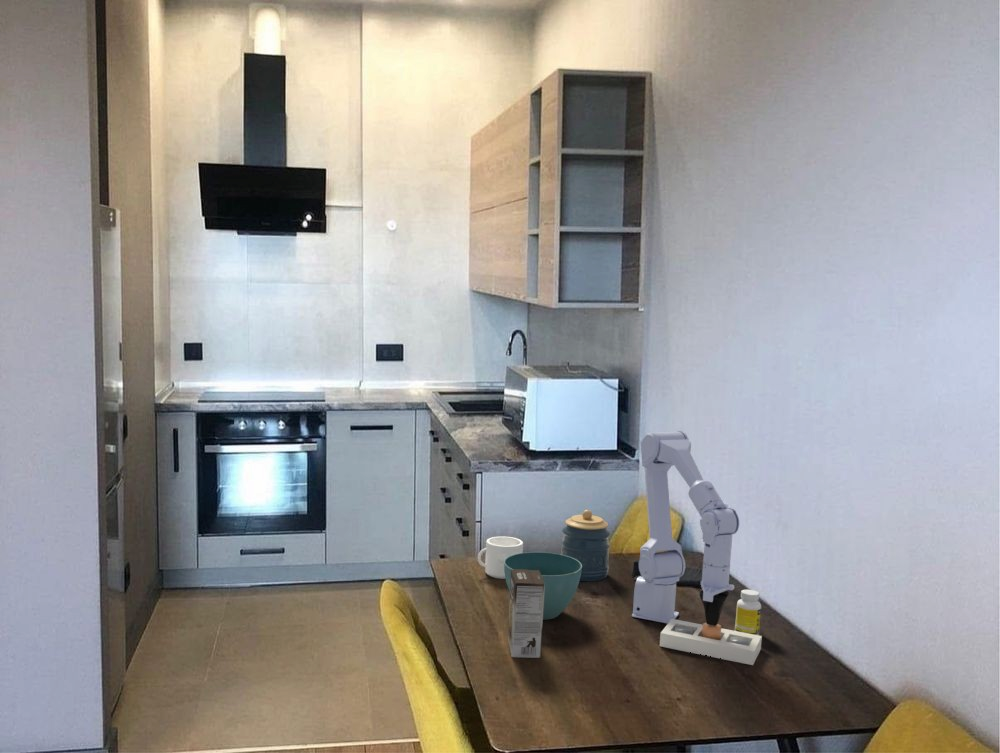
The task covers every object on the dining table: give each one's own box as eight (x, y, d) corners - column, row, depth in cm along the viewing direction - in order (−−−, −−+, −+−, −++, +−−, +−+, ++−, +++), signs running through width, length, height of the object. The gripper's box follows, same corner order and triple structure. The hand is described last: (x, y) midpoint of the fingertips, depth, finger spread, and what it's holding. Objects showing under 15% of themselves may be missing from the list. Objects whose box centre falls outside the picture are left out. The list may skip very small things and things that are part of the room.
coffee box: (506, 641, 208) (510, 568, 207) (536, 641, 209) (540, 569, 207) (510, 657, 199) (514, 582, 198) (541, 658, 200) (545, 582, 198)
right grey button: (727, 653, 207) (728, 641, 206) (730, 647, 210) (731, 635, 210) (745, 657, 205) (746, 644, 205) (749, 651, 209) (750, 638, 208)
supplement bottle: (759, 639, 216) (763, 597, 215) (735, 636, 217) (738, 594, 216) (758, 631, 222) (761, 589, 221) (734, 628, 223) (737, 587, 222)
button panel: (659, 646, 209) (660, 632, 209) (670, 631, 219) (671, 618, 218) (753, 665, 201) (754, 651, 201) (760, 649, 211) (761, 636, 210)
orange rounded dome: (699, 639, 209) (700, 626, 208) (703, 633, 212) (704, 621, 212) (718, 642, 207) (719, 630, 207) (722, 636, 211) (723, 624, 210)
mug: (481, 582, 247) (483, 548, 246) (472, 570, 256) (473, 537, 256) (526, 580, 250) (528, 546, 249) (515, 568, 260) (517, 535, 259)
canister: (554, 567, 263) (558, 503, 261) (600, 566, 265) (604, 504, 263) (566, 582, 250) (570, 516, 248) (614, 582, 252) (618, 516, 250)
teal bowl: (533, 633, 213) (536, 579, 212) (486, 608, 228) (488, 557, 227) (594, 619, 224) (598, 568, 223) (546, 595, 239) (548, 547, 237)
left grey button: (672, 642, 211) (672, 630, 211) (676, 636, 215) (677, 624, 215) (690, 646, 210) (691, 633, 209) (694, 640, 213) (695, 628, 213)
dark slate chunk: (714, 593, 249) (716, 575, 248) (629, 583, 254) (630, 565, 253) (714, 575, 264) (716, 558, 263) (634, 566, 268) (635, 549, 268)
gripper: (728, 575, 200) (724, 638, 201) (741, 558, 213) (736, 617, 214) (695, 569, 203) (690, 632, 204) (709, 552, 216) (705, 611, 217)
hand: (712, 624), depth 209 cm, fingers closed
